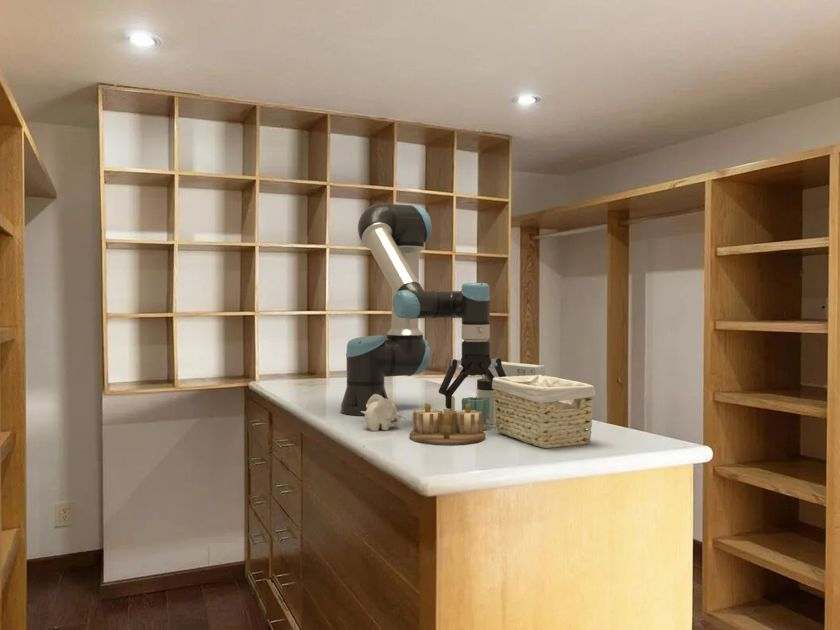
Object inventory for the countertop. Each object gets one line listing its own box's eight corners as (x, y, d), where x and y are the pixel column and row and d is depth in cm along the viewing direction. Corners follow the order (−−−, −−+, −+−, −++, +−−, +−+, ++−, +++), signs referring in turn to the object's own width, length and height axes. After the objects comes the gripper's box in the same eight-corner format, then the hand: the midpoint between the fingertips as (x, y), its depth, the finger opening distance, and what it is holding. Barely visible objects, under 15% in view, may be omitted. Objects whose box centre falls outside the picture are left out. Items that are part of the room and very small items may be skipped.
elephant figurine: (409, 430, 183) (409, 397, 183) (364, 433, 180) (364, 399, 180) (399, 424, 193) (399, 392, 192) (356, 427, 189) (356, 394, 189)
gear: (457, 416, 188) (457, 397, 188) (483, 414, 190) (483, 396, 190) (466, 420, 181) (466, 401, 181) (494, 419, 183) (494, 400, 183)
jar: (488, 425, 191) (488, 382, 191) (470, 421, 198) (470, 379, 197) (512, 422, 196) (512, 380, 195) (494, 418, 203) (494, 377, 202)
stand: (462, 427, 188) (462, 416, 188) (481, 426, 189) (481, 415, 189) (469, 431, 182) (469, 419, 182) (489, 430, 184) (489, 418, 184)
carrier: (401, 432, 180) (401, 402, 180) (470, 429, 186) (470, 399, 185) (421, 447, 162) (421, 413, 162) (497, 442, 167) (497, 409, 167)
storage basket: (598, 445, 165) (598, 383, 165) (540, 451, 158) (540, 387, 158) (541, 428, 187) (542, 374, 186) (489, 433, 180) (489, 376, 180)
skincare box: (480, 413, 213) (480, 361, 213) (492, 411, 217) (492, 360, 216) (535, 421, 197) (535, 366, 197) (546, 419, 201) (547, 364, 201)
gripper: (435, 342, 179) (435, 424, 179) (524, 340, 185) (524, 419, 185) (427, 340, 186) (427, 419, 186) (513, 339, 192) (513, 415, 193)
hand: (475, 419), depth 186 cm, fingers open, 13 cm apart
